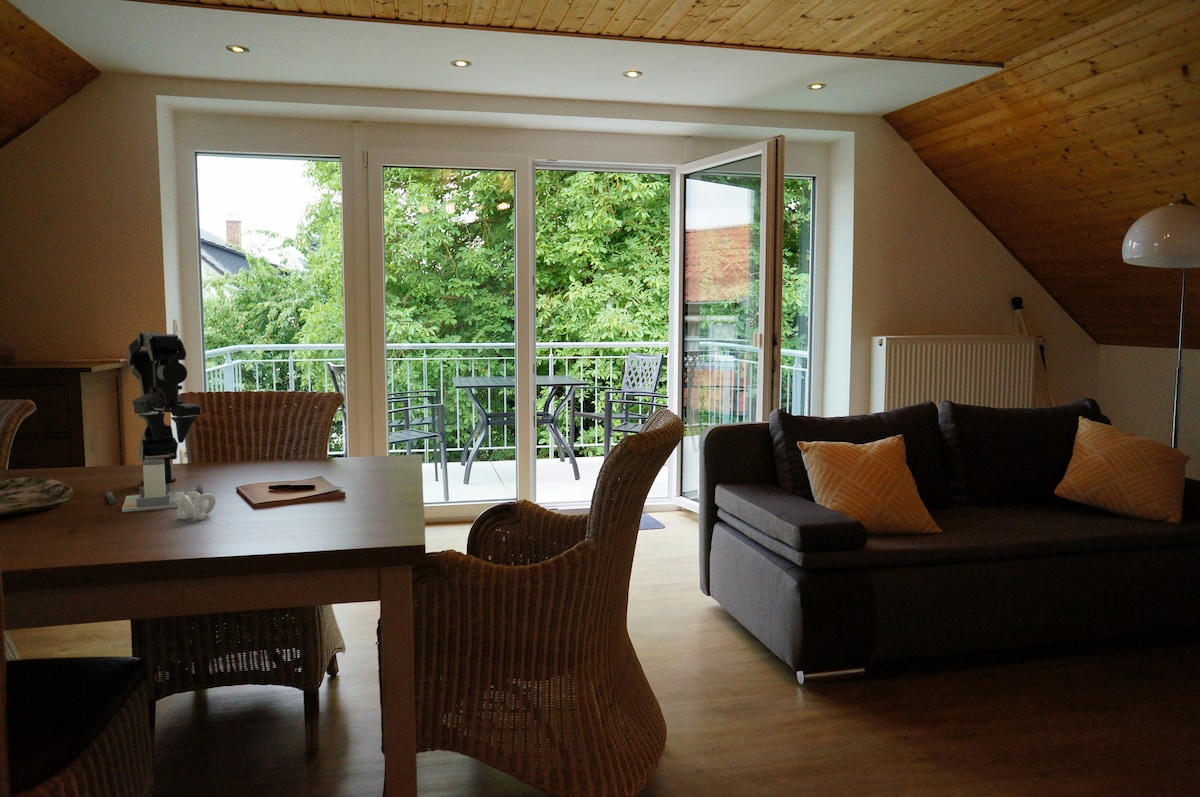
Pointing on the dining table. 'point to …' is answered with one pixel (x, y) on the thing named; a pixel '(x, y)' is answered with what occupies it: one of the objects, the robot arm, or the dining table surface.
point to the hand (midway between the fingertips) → (168, 441)
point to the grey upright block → (154, 478)
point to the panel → (152, 501)
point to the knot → (195, 505)
